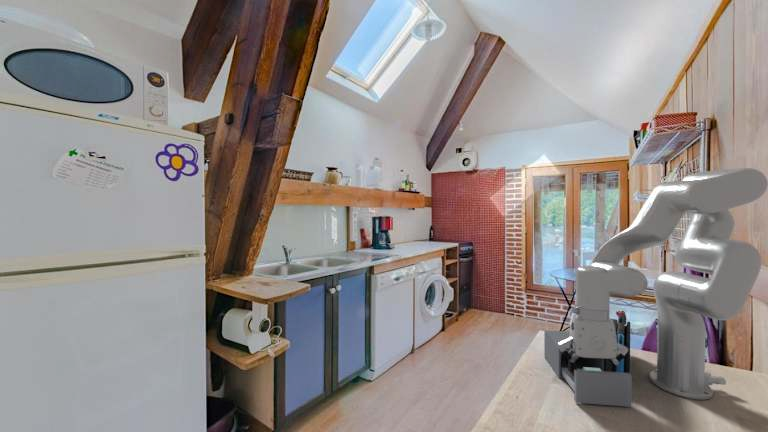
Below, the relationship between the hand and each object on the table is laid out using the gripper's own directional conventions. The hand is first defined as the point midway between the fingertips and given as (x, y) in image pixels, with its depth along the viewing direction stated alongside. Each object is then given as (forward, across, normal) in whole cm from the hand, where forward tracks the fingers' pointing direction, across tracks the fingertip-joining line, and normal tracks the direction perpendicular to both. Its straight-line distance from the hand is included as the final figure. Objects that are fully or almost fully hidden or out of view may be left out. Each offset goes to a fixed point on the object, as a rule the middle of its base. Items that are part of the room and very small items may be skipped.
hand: (591, 375), depth 83 cm
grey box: (+5, 0, +12) cm, 13 cm away
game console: (+5, +14, +14) cm, 20 cm away
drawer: (+4, 0, +1) cm, 4 cm away
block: (+3, 0, -2) cm, 4 cm away
